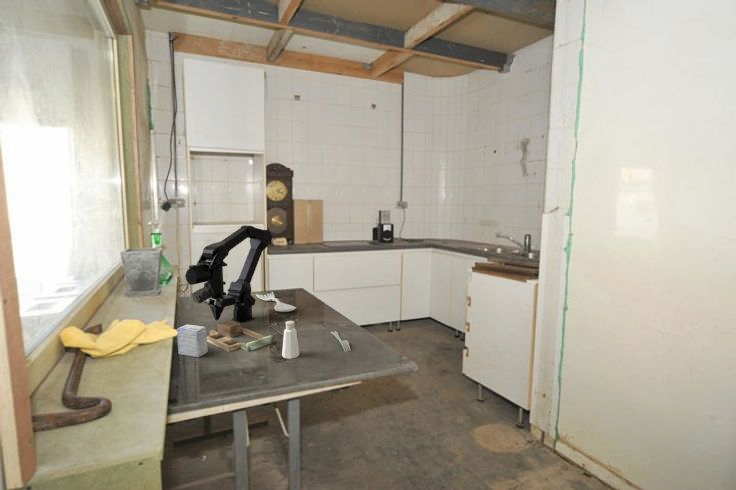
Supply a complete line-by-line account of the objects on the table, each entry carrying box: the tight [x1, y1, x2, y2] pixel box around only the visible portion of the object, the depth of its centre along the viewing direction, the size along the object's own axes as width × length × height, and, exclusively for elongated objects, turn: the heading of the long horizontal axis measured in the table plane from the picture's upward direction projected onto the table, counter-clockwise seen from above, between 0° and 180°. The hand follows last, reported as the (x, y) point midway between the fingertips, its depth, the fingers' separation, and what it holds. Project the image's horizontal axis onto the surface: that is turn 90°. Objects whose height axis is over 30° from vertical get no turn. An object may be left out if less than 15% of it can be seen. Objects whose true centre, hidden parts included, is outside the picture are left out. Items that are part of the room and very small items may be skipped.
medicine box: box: [176, 324, 208, 358], centre depth 123 cm, size 8×4×9 cm, turn 71°
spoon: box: [255, 291, 297, 313], centre depth 178 cm, size 9×32×4 cm, turn 35°
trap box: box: [207, 326, 273, 353], centre depth 135 cm, size 14×24×2 cm, turn 51°
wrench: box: [265, 321, 285, 337], centre depth 144 cm, size 5×20×1 cm, turn 37°
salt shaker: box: [281, 320, 300, 360], centre depth 122 cm, size 5×5×11 cm
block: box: [217, 320, 242, 338], centre depth 141 cm, size 4×7×4 cm, turn 56°
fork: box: [330, 330, 351, 353], centre depth 135 cm, size 3×21×3 cm, turn 19°
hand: (216, 320), depth 146 cm, fingers closed
